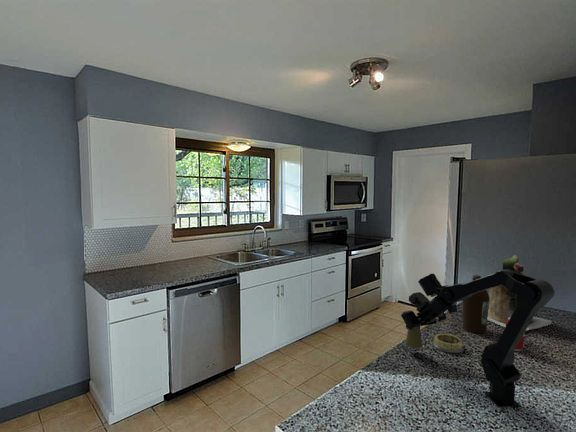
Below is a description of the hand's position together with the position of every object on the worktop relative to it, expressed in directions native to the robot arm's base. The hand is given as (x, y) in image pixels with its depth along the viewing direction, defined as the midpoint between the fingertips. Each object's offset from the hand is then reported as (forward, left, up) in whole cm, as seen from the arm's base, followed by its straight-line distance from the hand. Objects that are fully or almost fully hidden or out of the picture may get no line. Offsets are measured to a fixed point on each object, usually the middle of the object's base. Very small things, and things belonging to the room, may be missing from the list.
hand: (411, 326), depth 128 cm
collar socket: (+3, -17, -10) cm, 19 cm away
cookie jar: (+29, -62, -10) cm, 70 cm away
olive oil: (+19, -38, -10) cm, 43 cm away
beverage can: (+1, -43, -10) cm, 44 cm away
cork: (-1, -1, -7) cm, 7 cm away
